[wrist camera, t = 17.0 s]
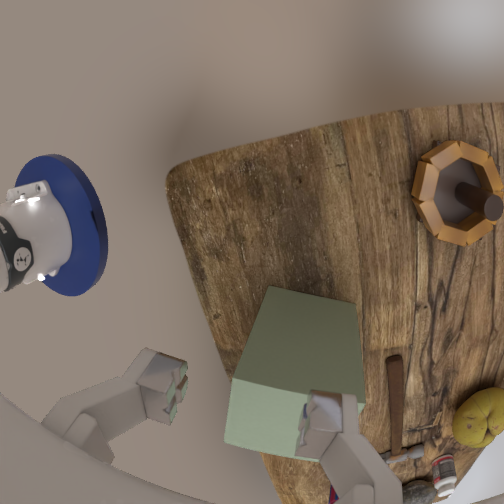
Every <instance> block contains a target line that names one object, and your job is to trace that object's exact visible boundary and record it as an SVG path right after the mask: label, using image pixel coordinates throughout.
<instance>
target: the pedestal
mask: <svg viewBox="0 0 504 504" xmlns="http://www.w3.org/2000/svg"><path fill="white" fill-rule="evenodd" d="M311 389H314V390H321V391H329V392H337V393H344V394H352V395H356V397H357V405H358V415H359V414H360V412H361V411H362V409H363V408H364V406H365V404H366V401H365V386H364V374H363V363H362V353H361V344H360V335H359V327H358V319H357V312H356V305H355V304H353V303H348V302H344V301H339V300H334V299H329V298H324V297H320V296H315V295H310V294H306V293H301V292H296V291H292V290H287V289H283V288H278V287H274V286H268V289H267V291H266V294H265V297H264V299H263V302H262V304H261V307H260V310H259V312H258V315H257V317H256V320H255V323H254V325H253V328H252V330H251V333H250V335H249V338H248V340H247V343H246V345H245V348H244V351H243V353H242V356H241V358H240V361H239V363H238V366H237V368H236V371H235V373H234V375H233V378H232V386H231V393H230V400H229V407H228V414H227V421H226V428H225V435H224V443H228V444H232V445H235V446H239V447H243V448H248V449H251V450H255V451H260V452H264V453H269V454H273V455H278V456H284V457H289V458H295V459H301V460H307V461H314V462H319V460H320V459H312V458H305V457H299V456H295V448H296V440H297V438H298V436H299V434H300V432H299V430H298V424H299V418H300V414H301V411H302V408H303V406H304V404H305V403H307V396H308V394H309V392H310V390H311Z"/></svg>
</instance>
